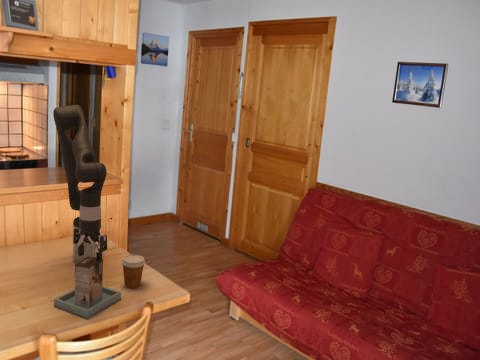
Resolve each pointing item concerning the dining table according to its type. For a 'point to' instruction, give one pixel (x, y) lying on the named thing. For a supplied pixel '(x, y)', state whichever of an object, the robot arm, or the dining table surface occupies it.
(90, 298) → the coffee box
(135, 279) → the disposable coffee cup
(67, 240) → the dining table surface
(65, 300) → the tray
